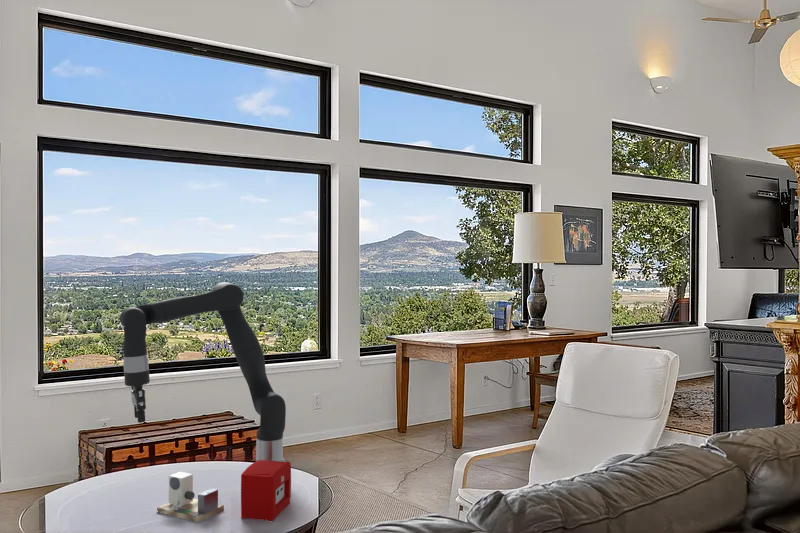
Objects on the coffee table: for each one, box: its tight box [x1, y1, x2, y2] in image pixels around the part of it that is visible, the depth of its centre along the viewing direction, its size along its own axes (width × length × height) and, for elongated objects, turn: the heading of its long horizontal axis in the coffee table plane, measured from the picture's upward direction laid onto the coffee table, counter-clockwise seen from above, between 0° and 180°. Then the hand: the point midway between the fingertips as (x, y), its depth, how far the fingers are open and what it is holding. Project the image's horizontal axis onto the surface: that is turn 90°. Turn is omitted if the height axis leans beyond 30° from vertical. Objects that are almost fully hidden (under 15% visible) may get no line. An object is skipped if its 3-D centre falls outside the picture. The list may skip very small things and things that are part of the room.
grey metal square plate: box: [197, 487, 219, 514], centre depth 236 cm, size 2×6×6 cm, turn 153°
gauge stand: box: [156, 497, 225, 523], centre depth 240 cm, size 17×12×2 cm
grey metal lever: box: [175, 494, 182, 510], centre depth 236 cm, size 1×2×5 cm, turn 153°
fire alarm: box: [240, 460, 292, 522], centre depth 240 cm, size 16×11×15 cm
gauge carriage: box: [168, 471, 195, 510], centre depth 239 cm, size 8×8×9 cm
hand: (140, 419), depth 240 cm, fingers open, 8 cm apart
